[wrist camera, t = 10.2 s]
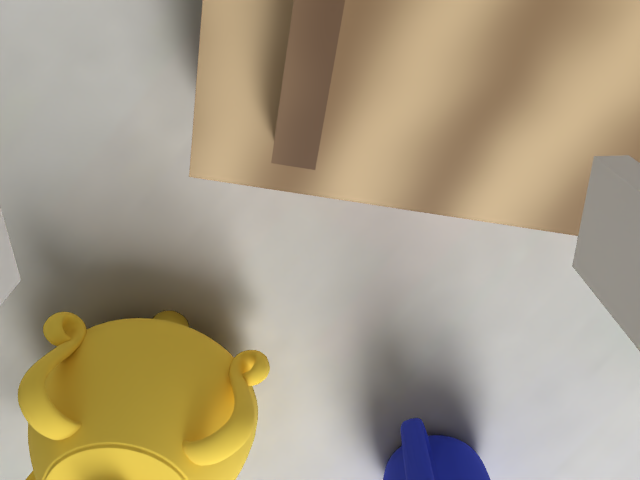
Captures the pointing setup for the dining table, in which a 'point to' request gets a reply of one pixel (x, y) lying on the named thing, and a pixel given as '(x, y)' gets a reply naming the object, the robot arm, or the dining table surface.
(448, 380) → the dining table surface
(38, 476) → the teapot
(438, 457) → the mug
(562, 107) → the lid
